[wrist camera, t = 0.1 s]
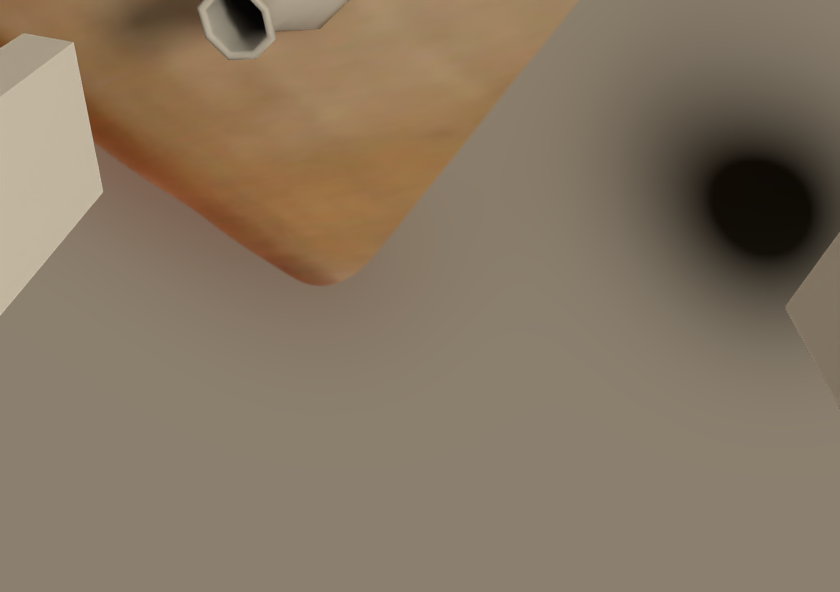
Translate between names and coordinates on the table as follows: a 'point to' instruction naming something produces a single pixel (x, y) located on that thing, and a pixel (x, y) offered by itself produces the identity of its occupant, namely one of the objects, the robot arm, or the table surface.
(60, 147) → the robot arm
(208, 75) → the table surface
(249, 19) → the flask
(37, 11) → the table surface
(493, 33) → the table surface
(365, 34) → the table surface
